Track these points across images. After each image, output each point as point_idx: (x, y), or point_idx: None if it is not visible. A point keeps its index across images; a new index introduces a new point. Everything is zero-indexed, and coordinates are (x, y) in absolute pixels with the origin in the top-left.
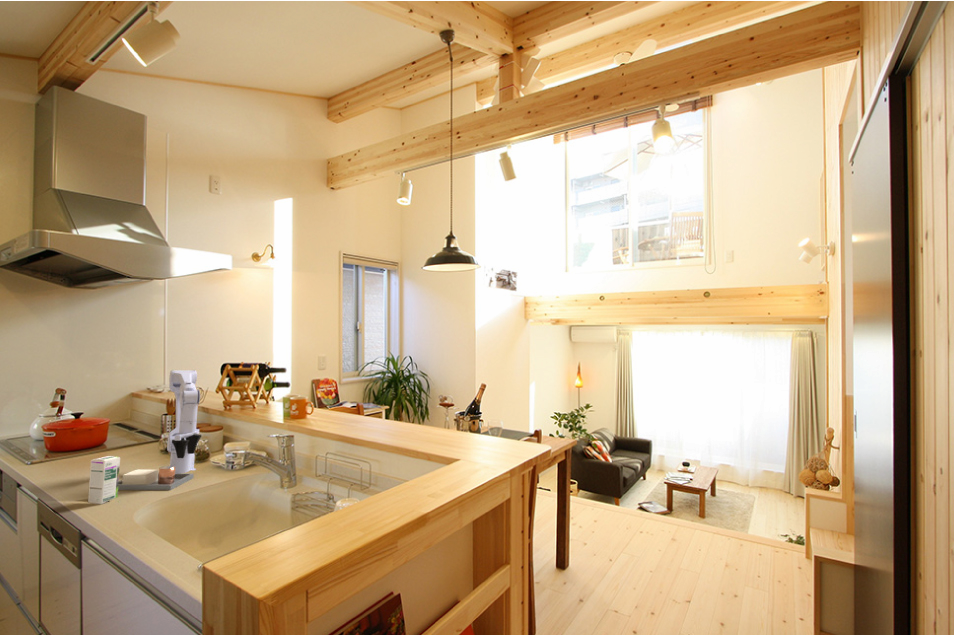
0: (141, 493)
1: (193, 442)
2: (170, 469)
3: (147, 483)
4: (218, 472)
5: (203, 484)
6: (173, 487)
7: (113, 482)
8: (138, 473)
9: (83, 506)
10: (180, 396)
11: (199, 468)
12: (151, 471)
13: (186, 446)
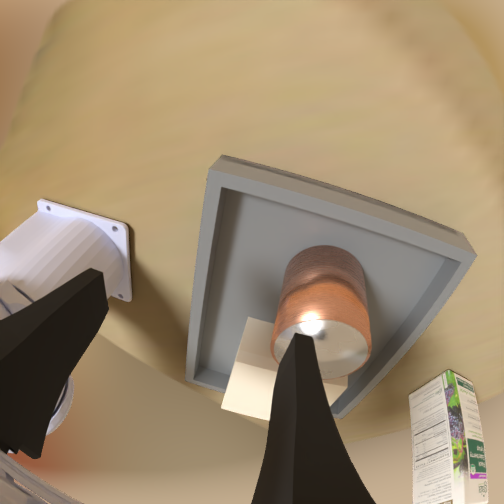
0: None
1: (31, 367)
2: (366, 329)
3: None
4: (69, 67)
5: (357, 70)
6: (448, 234)
7: (469, 425)
8: None
9: None
10: None
11: (22, 190)
12: (272, 378)
13: (299, 450)
